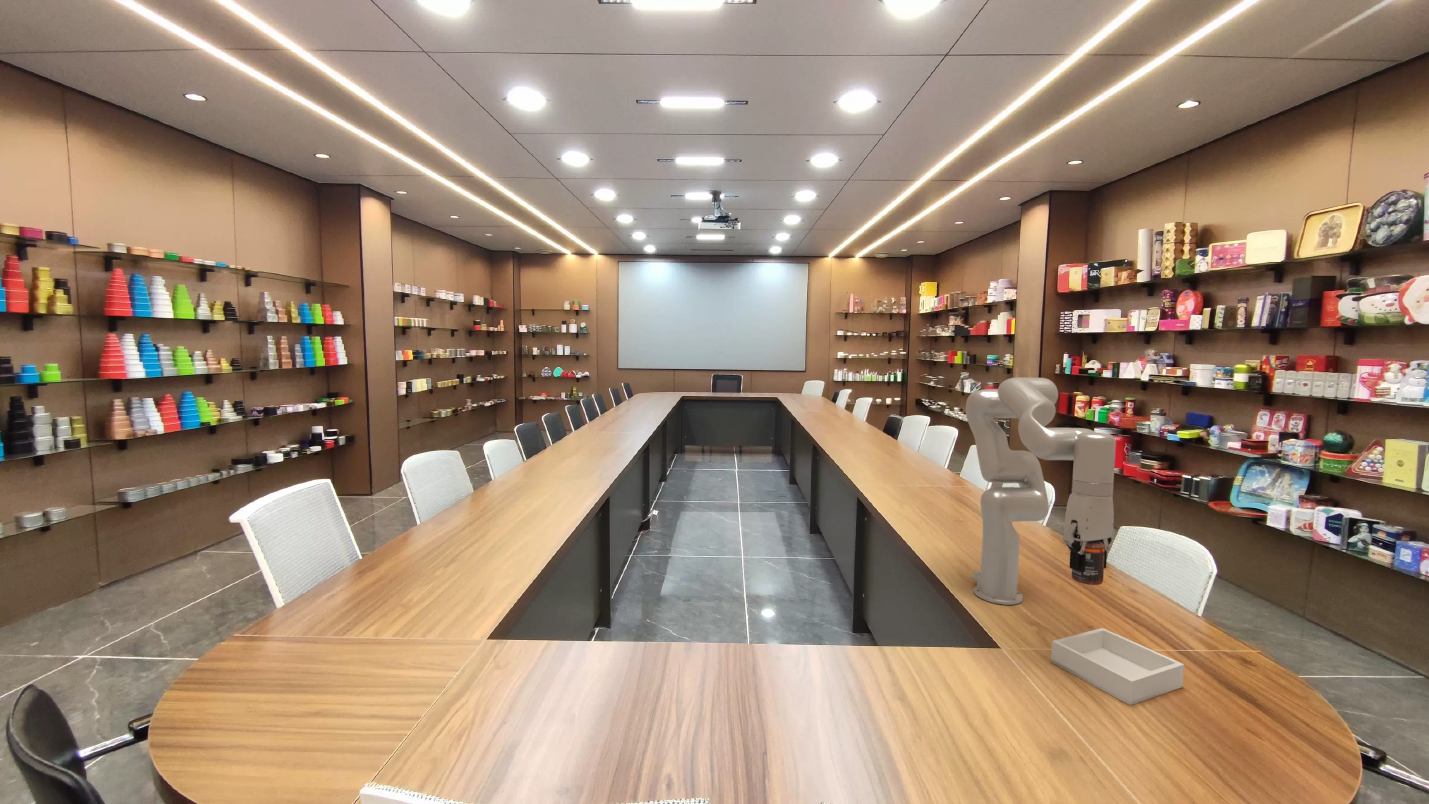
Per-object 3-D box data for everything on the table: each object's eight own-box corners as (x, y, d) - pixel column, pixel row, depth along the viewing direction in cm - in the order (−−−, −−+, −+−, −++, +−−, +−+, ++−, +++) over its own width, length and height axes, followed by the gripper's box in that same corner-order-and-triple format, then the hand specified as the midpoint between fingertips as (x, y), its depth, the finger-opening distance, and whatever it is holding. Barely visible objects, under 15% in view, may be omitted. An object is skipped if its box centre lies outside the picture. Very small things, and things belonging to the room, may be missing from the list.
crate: (1050, 662, 129) (1052, 640, 128) (1100, 648, 135) (1102, 627, 135) (1130, 705, 113) (1132, 681, 113) (1182, 687, 120) (1184, 664, 119)
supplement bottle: (1093, 576, 130) (1097, 528, 129) (1108, 587, 124) (1112, 535, 123) (1065, 575, 131) (1068, 526, 130) (1079, 585, 125) (1082, 534, 124)
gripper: (1102, 482, 132) (1097, 558, 134) (1048, 487, 126) (1044, 567, 127) (1136, 489, 125) (1131, 569, 127) (1081, 495, 119) (1076, 579, 120)
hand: (1087, 567), depth 127 cm, fingers closed on supplement bottle, 6 cm apart
